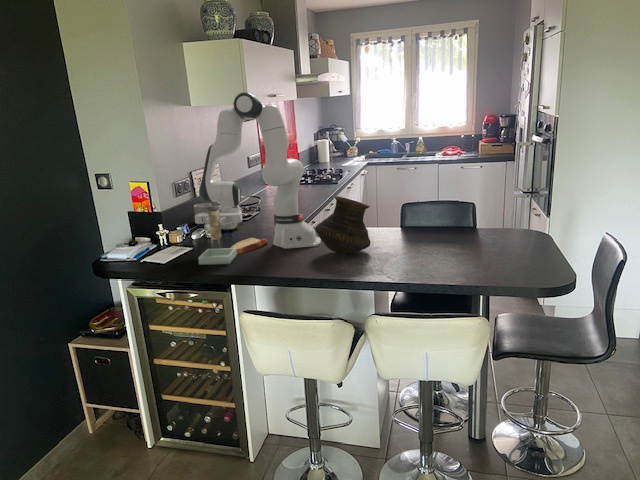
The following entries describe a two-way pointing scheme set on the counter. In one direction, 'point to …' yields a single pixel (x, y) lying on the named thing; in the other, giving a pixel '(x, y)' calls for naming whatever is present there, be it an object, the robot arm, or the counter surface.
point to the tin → (229, 226)
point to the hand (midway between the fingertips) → (213, 221)
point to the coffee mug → (201, 208)
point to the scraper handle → (214, 222)
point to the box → (218, 256)
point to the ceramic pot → (345, 227)
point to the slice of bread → (249, 245)
